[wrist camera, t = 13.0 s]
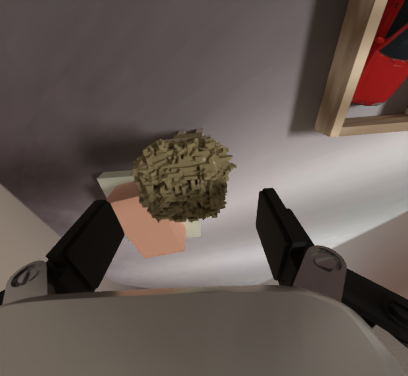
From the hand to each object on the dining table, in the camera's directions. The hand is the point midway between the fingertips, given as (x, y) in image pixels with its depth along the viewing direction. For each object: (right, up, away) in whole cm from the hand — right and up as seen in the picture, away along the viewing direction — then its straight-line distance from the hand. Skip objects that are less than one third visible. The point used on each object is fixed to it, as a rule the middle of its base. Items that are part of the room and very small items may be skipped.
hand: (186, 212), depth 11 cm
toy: (0, +9, +12) cm, 16 cm away
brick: (-7, -2, +18) cm, 19 cm away
